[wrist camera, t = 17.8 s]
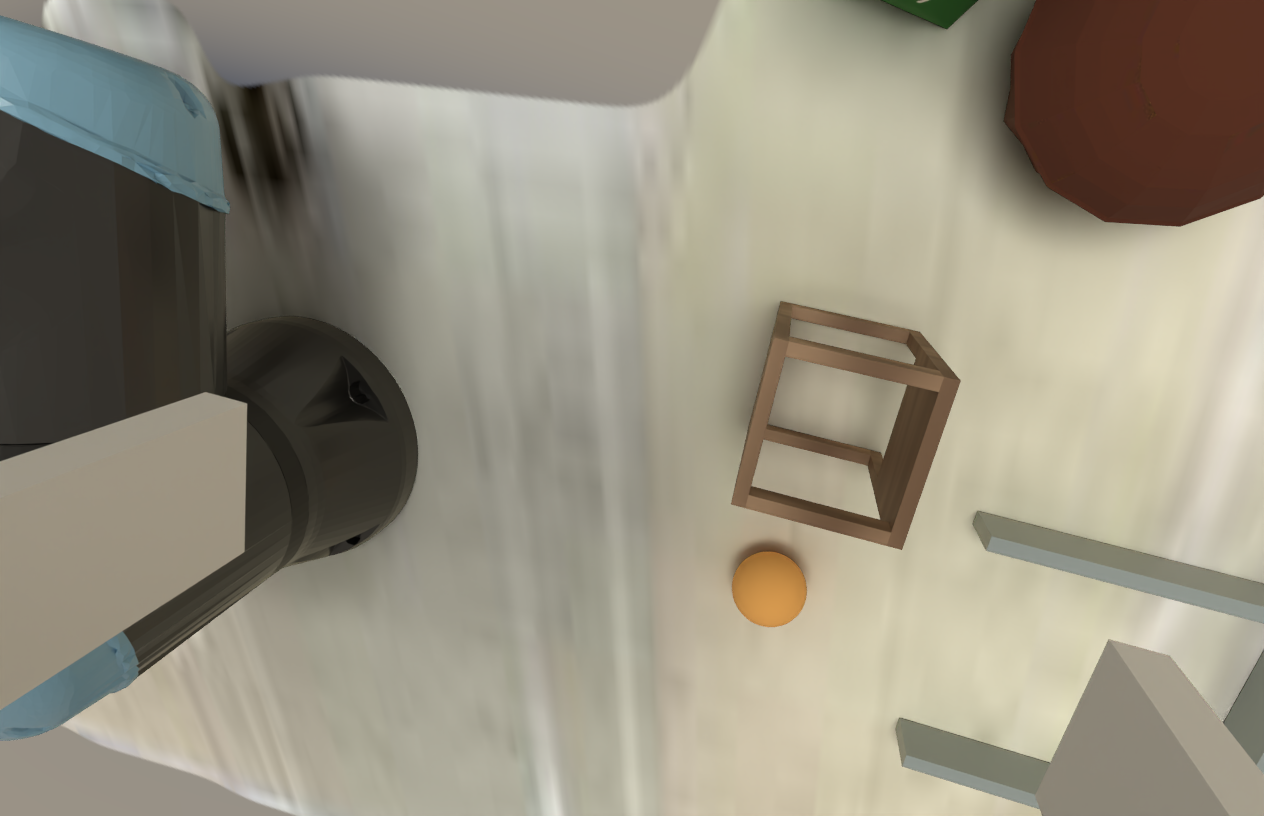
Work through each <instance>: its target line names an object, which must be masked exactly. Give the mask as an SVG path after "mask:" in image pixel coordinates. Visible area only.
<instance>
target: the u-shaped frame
mask: <svg viewBox="0 0 1264 816" xmlns="http://www.w3.org/2000/svg"><path fill="white" fill-rule="evenodd" d="M973 526H974V528H975V530H976V532H977V534H978V536H979V538H980V540H981V542H982V543H983V545H984V547H985V549H986V551H989V552H993V553H997V554H1001V555H1005V556H1008V557H1012V558H1016V559H1020V560H1024V561H1027V562H1031V563H1035V564H1039V565H1043V566H1046V567H1050V568H1054V569H1058V570H1062V571H1065V572H1069V573H1073V574H1077V575H1081V576H1085V577H1088V578H1092V579H1096V580H1100V581H1104V582H1107V583H1111V584H1115V585H1119V586H1123V587H1126V588H1130V589H1134V590H1138V591H1142V592H1145V593H1149V594H1153V595H1157V596H1161V597H1164V598H1168V599H1172V600H1176V601H1180V602H1183V603H1187V604H1191V605H1195V606H1199V607H1203V608H1206V609H1210V610H1214V611H1218V612H1222V613H1225V614H1229V615H1233V616H1237V617H1241V618H1244V619H1248V620H1252V621H1256V622H1260V623H1263V624H1264V584H1262V583H1258V582H1254V581H1250V580H1246V579H1242V578H1239V577H1235V576H1231V575H1227V574H1223V573H1219V572H1215V571H1211V570H1207V569H1203V568H1199V567H1195V566H1191V565H1188V564H1184V563H1180V562H1176V561H1172V560H1168V559H1164V558H1160V557H1156V556H1152V555H1148V554H1144V553H1141V552H1137V551H1133V550H1129V549H1125V548H1121V547H1117V546H1113V545H1109V544H1105V543H1101V542H1097V541H1094V540H1090V539H1086V538H1082V537H1078V536H1074V535H1070V534H1066V533H1062V532H1058V531H1054V530H1050V529H1046V528H1043V527H1039V526H1035V525H1031V524H1027V523H1023V522H1019V521H1015V520H1011V519H1007V518H1003V517H999V516H996V515H992V514H988V513H984V512H980V511H978V512H977V515H976V517H975V520H974V523H973ZM1223 724H1224V725H1225V726H1226V727H1227V729H1228V730H1229V731H1230V733H1231V734H1232V735H1233V736H1234V738H1235V739H1236V740H1237V741H1238V743H1239V744H1240V745H1241V746H1242V748H1243V749H1244V750H1245V751H1246V753H1247V754H1248V755H1249V757H1250V758H1251V759H1252V760H1253V762H1254V763H1255V764H1256V765H1257V767H1258V768H1259V769H1260V770H1261V772H1262V773H1263V774H1264V651H1263V653H1262V655H1261V657H1260V659H1259V660H1258V662H1257V664H1256V666H1255V668H1254V669H1253V671H1252V673H1251V675H1250V677H1249V678H1248V680H1247V682H1246V684H1245V686H1244V687H1243V689H1242V691H1241V693H1240V694H1239V696H1238V698H1237V700H1236V702H1235V703H1234V705H1233V707H1232V709H1231V711H1230V712H1229V714H1228V716H1227V718H1226V720H1225V721H1224V723H1223ZM896 734H897V740H898V746H899V751H900V757H901V763H902V767H906V768H909V769H912V770H915V771H919V772H922V773H925V774H928V775H931V776H935V777H938V778H941V779H944V780H947V781H951V782H954V783H957V784H960V785H964V786H967V787H970V788H973V789H976V790H980V791H983V792H986V793H989V794H992V795H996V796H999V797H1002V798H1005V799H1009V800H1012V801H1015V802H1018V803H1021V804H1025V805H1028V806H1031V807H1034V808H1037V809H1040V808H1039V805H1038V803H1037V800H1036V798H1035V794H1036V792H1037V790H1038V788H1039V786H1040V784H1041V782H1042V780H1043V777H1044V775H1045V773H1046V771H1047V769H1048V767H1049V765H1050V763H1048V762H1045V761H1041V760H1038V759H1035V758H1031V757H1028V756H1025V755H1021V754H1018V753H1015V752H1011V751H1008V750H1005V749H1001V748H998V747H995V746H991V745H988V744H985V743H982V742H978V741H975V740H972V739H968V738H965V737H962V736H958V735H955V734H952V733H948V732H945V731H942V730H938V729H935V728H932V727H928V726H925V725H922V724H918V723H915V722H912V721H909V720H905V719H902V718H899V721H898V724H897V726H896Z"/></svg>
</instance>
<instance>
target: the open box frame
mask: <svg viewBox="0 0 1264 816" xmlns="http://www.w3.org/2000/svg"><path fill="white" fill-rule="evenodd" d="M791 318H793V319H798V320H802V321H807V322H811V323H815V324H820V325H824V326H829V327H833V328H838V329H842V330H847V331H851V332H855V333H860V334H864V335H869V336H873V337H878V338H882V339H887V340H891V341H895V342H900V343H904V344H907V346H908V347H909V349H910V350H911V352H912V353H913V355H914V356H915V358H916V360H915V363H914V365H912V364H907V363H903V362H899V361H894V360H890V359H886V358H881V357H877V356H873V355H868V354H864V353H859V352H855V351H851V350H846V349H842V348H838V347H833V346H829V345H824V344H820V343H816V342H811V341H807V340H803V339H798V338H794V337H790V325H791ZM785 356H786V357H790V358H795V359H799V360H803V361H808V362H812V363H816V364H820V365H825V366H829V367H833V368H838V369H842V370H846V371H850V372H855V373H859V374H863V375H868V376H872V377H876V378H880V379H885V380H889V381H893V382H898V383H902V384H906V385H907V387H906V391H905V394H904V397H903V400H902V403H901V406H900V409H899V412H898V415H897V418H896V421H895V425H894V428H893V431H892V434H891V437H890V440H889V443H888V446H887V449H886V452H885V455H884V459H883V457H882V454H881V453H880V452H876V451H872V450H868V449H864V448H860V447H856V446H852V445H848V444H844V443H840V442H836V441H832V440H828V439H824V438H820V437H816V436H812V435H808V434H804V433H800V432H796V431H792V430H788V429H784V428H780V427H776V426H771V425H767V423H768V420H769V416H770V412H771V408H772V404H773V401H774V397H775V393H776V389H777V385H778V382H779V378H780V374H781V370H782V366H783V363H784V359H785ZM959 384H960V379H959V378H958V377H957V376H956V375H955V373H954V372H953V371H952V370H951V369H950V367H949V366H948V365H947V364H946V363H945V361H944V360H943V359H942V358H941V357H940V355H939V354H938V353H937V352H936V351H935V349H934V348H933V347H932V346H931V345H930V343H929V342H928V341H927V340H926V339H925V337H924V336H923V335H922V334H921V333H920V332H918V331H913V330H909V329H904V328H900V327H895V326H891V325H886V324H882V323H877V322H873V321H868V320H864V319H859V318H855V317H850V316H846V315H841V314H837V313H832V312H828V311H823V310H819V309H814V308H810V307H805V306H801V305H796V304H792V303H787V302H783V301H781V302H780V306H779V310H778V314H777V318H776V322H775V326H774V329H773V333H772V337H771V341H770V345H769V349H768V353H767V357H766V361H765V365H764V369H763V373H762V377H761V380H760V384H759V388H758V392H757V396H756V400H755V404H754V408H753V412H752V416H751V420H750V424H749V427H748V432H747V436H746V440H745V445H744V449H743V454H742V458H741V462H740V467H739V471H738V476H737V480H736V484H735V489H734V493H733V498H732V502H731V504H732V505H736V506H740V507H743V508H747V509H751V510H755V511H758V512H762V513H766V514H770V515H773V516H777V517H781V518H785V519H788V520H792V521H796V522H799V523H803V524H807V525H811V526H814V527H818V528H822V529H826V530H829V531H833V532H837V533H841V534H844V535H848V536H852V537H856V538H859V539H863V540H867V541H871V542H874V543H878V544H882V545H886V546H889V547H893V548H897V549H901V550H902V548H903V545H904V542H905V539H906V537H907V534H908V531H909V528H910V525H911V522H912V519H913V516H914V514H915V511H916V508H917V505H918V502H919V499H920V496H921V493H922V491H923V488H924V485H925V482H926V479H927V476H928V473H929V470H930V468H931V465H932V462H933V459H934V456H935V453H936V450H937V447H938V445H939V442H940V439H941V436H942V433H943V430H944V427H945V424H946V422H947V419H948V416H949V413H950V410H951V407H952V404H953V401H954V398H955V396H956V393H957V390H958V387H959ZM763 439H764V440H768V441H772V442H776V443H780V444H784V445H788V446H792V447H796V448H800V449H804V450H808V451H812V452H816V453H820V454H824V455H828V456H832V457H836V458H840V459H844V460H848V461H852V462H856V463H860V464H864V465H868V469H869V473H870V478H871V482H872V486H873V490H874V494H875V499H876V503H877V507H878V511H879V515H880V520H878V519H874V518H871V517H867V516H863V515H859V514H855V513H852V512H848V511H844V510H840V509H836V508H833V507H829V506H825V505H821V504H817V503H813V502H810V501H806V500H802V499H798V498H794V497H791V496H787V495H783V494H779V493H775V492H772V491H768V490H764V489H760V488H756V487H752V486H751V484H752V480H753V476H754V473H755V469H756V465H757V461H758V458H759V454H760V450H761V446H762V442H763Z"/></svg>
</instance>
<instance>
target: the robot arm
mask: <svg viewBox="0 0 1264 816" xmlns="http://www.w3.org/2000/svg"><path fill="white" fill-rule="evenodd" d="M229 212H230V203H229V201H228V200H227V199H226V198H225V196H224V182H223V169H222V156H221V142H220V129H219V124H218V120H217V117H216V114H215V112H214V109H213V108H212V106H211V104H210V103H209V101H208V100H207V98H206V97H205V96H204V95H203V94H202V93H201V92H200V91H199V90H198V89H197V88H196V87H195V86H194V85H193V84H191V83H190V82H188V81H187V80H186V79H184V78H182V77H181V76H179V75H177V74H175V73H173V72H171V71H168V70H166V69H163V68H161V67H158V66H155V65H153V64H150V63H147V62H144V61H142V60H139V59H136V58H133V57H130V56H127V55H124V54H121V53H118V52H115V51H112V50H109V49H106V48H103V47H100V46H97V45H94V44H91V43H88V42H85V41H82V40H79V39H75V38H72V37H69V36H66V35H63V34H60V33H56V32H53V31H50V30H47V29H44V28H40V27H37V26H34V25H31V24H27V23H24V22H21V21H18V20H14V19H11V18H8V17H4V16H1V15H0V741H10V740H18V739H24V738H29V737H33V736H36V735H40V734H42V733H44V732H47V731H49V730H52V729H54V728H56V727H58V726H60V725H61V724H63V723H65V722H66V721H68V720H69V719H71V718H72V717H74V716H75V715H77V714H78V713H80V712H82V711H83V710H85V709H86V708H88V707H89V706H91V705H92V704H94V703H96V702H97V701H99V700H100V699H102V698H103V697H105V696H106V695H108V694H110V693H115V692H117V691H120V690H121V689H123V688H126V687H127V686H128V685H130V684H131V683H132V682H133V681H134V680H135V679H136V678H137V677H138V676H139V675H141V674H142V673H143V672H145V671H146V670H147V669H149V668H150V667H151V666H153V665H154V664H155V663H157V662H158V661H159V660H161V659H162V658H163V657H165V656H166V655H167V654H169V653H170V652H171V651H172V650H174V649H175V648H176V647H178V646H179V645H180V644H182V643H183V642H184V641H186V640H187V639H188V638H190V637H191V636H192V635H194V634H195V633H196V632H198V631H199V630H200V629H202V628H203V627H204V626H206V625H207V624H208V623H210V622H211V621H212V620H213V619H215V618H216V617H217V616H219V615H220V614H221V613H223V612H224V611H225V610H227V609H228V608H229V607H231V606H232V605H233V604H235V603H236V602H237V601H239V600H240V599H241V598H243V597H244V596H245V595H247V594H248V593H249V592H250V591H252V590H253V589H254V588H256V587H257V586H258V585H260V584H261V583H262V582H264V581H265V580H266V579H267V578H269V577H270V576H272V575H273V574H274V573H276V572H277V571H279V570H280V569H281V568H284V567H288V566H291V565H295V564H299V563H303V562H307V561H311V560H315V559H319V558H323V557H327V556H330V555H335V554H338V553H342V552H345V551H348V550H351V549H353V548H355V547H357V546H359V545H361V544H363V543H365V542H366V541H368V540H369V539H371V538H372V537H373V536H375V535H376V534H377V533H379V532H380V531H381V530H382V529H384V528H385V527H386V526H387V525H388V524H389V523H391V522H392V521H393V520H394V519H395V517H396V516H397V515H398V514H399V513H400V511H401V510H402V508H403V507H404V505H405V504H406V502H407V500H408V498H409V496H410V493H411V491H412V488H413V485H414V482H415V477H416V472H417V464H418V445H417V436H416V430H415V426H414V422H413V418H412V415H411V412H410V409H409V407H408V404H407V402H406V399H405V397H404V395H403V393H402V391H401V389H400V388H399V386H398V384H397V383H396V381H395V379H394V378H393V376H392V375H391V374H390V372H389V371H388V370H387V368H386V367H385V366H384V365H383V363H382V362H381V361H380V360H379V359H378V358H377V357H376V356H375V355H374V354H373V353H372V352H371V351H370V350H369V349H368V348H366V347H365V346H364V345H363V344H362V343H360V342H359V341H358V340H356V339H355V338H353V337H352V336H350V335H349V334H347V333H346V332H344V331H342V330H340V329H338V328H336V327H334V326H332V325H329V324H327V323H324V322H321V321H318V320H314V319H310V318H305V317H297V316H280V317H272V318H268V319H263V320H259V321H255V322H251V323H247V324H244V325H241V326H239V327H236V328H234V329H232V330H230V331H228V332H226V269H225V213H226V214H229ZM1035 798H1036V800H1037V803H1038V805H1039V808H1040V811H1041V813H1042V816H1264V774H1263V773H1262V772H1261V770H1260V769H1259V768H1258V767H1257V765H1256V764H1255V763H1254V762H1253V760H1252V759H1251V758H1250V757H1249V755H1248V754H1247V753H1246V751H1245V750H1244V749H1243V748H1242V746H1241V745H1240V744H1239V743H1238V741H1237V740H1236V739H1235V738H1234V736H1233V735H1232V734H1231V733H1230V731H1229V730H1228V729H1227V727H1226V726H1225V725H1224V724H1223V722H1222V721H1221V720H1220V719H1219V717H1218V716H1217V715H1216V714H1215V712H1214V711H1213V710H1212V708H1211V707H1210V706H1209V705H1208V703H1207V702H1206V701H1205V700H1204V698H1203V697H1202V696H1201V695H1200V693H1199V692H1198V691H1197V690H1196V688H1195V687H1194V686H1193V684H1192V683H1191V682H1190V681H1189V679H1188V678H1187V677H1186V676H1185V674H1184V673H1183V672H1182V671H1181V669H1180V668H1179V667H1178V665H1177V664H1176V663H1175V662H1174V660H1173V659H1172V658H1171V657H1170V656H1168V655H1165V654H1161V653H1157V652H1154V651H1150V650H1146V649H1143V648H1139V647H1135V646H1132V645H1128V644H1125V643H1121V642H1117V641H1114V640H1110V639H1109V640H1108V642H1107V644H1106V646H1105V648H1104V650H1103V653H1102V655H1101V657H1100V659H1099V661H1098V663H1097V665H1096V667H1095V670H1094V672H1093V674H1092V676H1091V678H1090V680H1089V682H1088V684H1087V686H1086V689H1085V691H1084V693H1083V695H1082V697H1081V699H1080V701H1079V703H1078V706H1077V708H1076V710H1075V712H1074V714H1073V716H1072V718H1071V720H1070V722H1069V725H1068V727H1067V729H1066V731H1065V733H1064V735H1063V737H1062V739H1061V741H1060V744H1059V746H1058V748H1057V750H1056V752H1055V754H1054V756H1053V758H1052V761H1051V763H1050V765H1049V767H1048V769H1047V771H1046V773H1045V775H1044V777H1043V780H1042V782H1041V784H1040V786H1039V788H1038V790H1037V792H1036V794H1035Z"/></svg>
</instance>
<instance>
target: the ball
mask: <svg viewBox="0 0 1264 816" xmlns="http://www.w3.org/2000/svg"><path fill="white" fill-rule="evenodd" d="M732 593H733V598H734V601H735V603H736V605H737V607H738V609H739V610H740V612H741V613H742V614H743V615H744V616H745V617H746V618H747V619H748V620H750V621H751V622H753V623H755V624H758V625H761V626H765V627H777V626H781V625H784V624H787V623H788V622H790V621H792V620H793V619H794V618H795V617H796V616H797V615H798V614H799V613H800V611H801V610H802V608H803V606H804V603H805V600H806V595H807V587H806V582H805V578H804V576H803V573H802V572H801V570H800V568H799V567H798V566H797V565H796V564H795V562H793V561H792V560H791V559H790V558H788V557H786V556H785V555H782V554H780V553H776V552H759V553H756V554H754V555H751V556H749V557H748V558H746V559H745V560H744V561H743V562H742V563H741V564H740V565H739V567H738V568H737V570H736V572H735V574H734V578H733V582H732Z"/></svg>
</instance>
